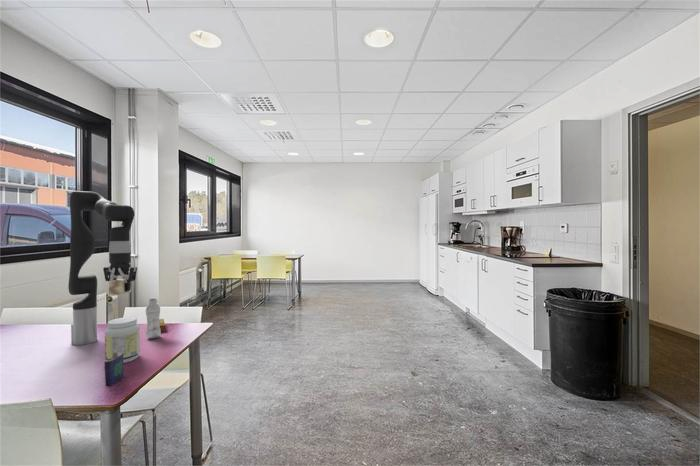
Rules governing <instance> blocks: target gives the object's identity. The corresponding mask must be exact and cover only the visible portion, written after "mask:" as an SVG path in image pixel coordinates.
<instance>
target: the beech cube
mask: <svg viewBox="0 0 700 466" xmlns="http://www.w3.org/2000/svg"><path fill="white" fill-rule="evenodd" d="M124 283H125V282H124V279H123V278H121V279H119V278H117V280H113V281H108V294H109V295H125V294H129V293H132V288H131V289H130V291H127V292H125V291H124Z"/></svg>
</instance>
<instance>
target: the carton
mask: <svg viewBox="0 0 700 466" xmlns="http://www.w3.org/2000/svg"><path fill="white" fill-rule="evenodd" d="M159 324H160V329H161V333H165V332H166V324H165V319H164V318H159Z"/></svg>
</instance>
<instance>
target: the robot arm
mask: <svg viewBox="0 0 700 466" xmlns="http://www.w3.org/2000/svg"><path fill="white" fill-rule="evenodd" d="M69 211H70V212H69V213H70V242H69V245H70V246H69V251H70V253H69V254H70V255H69V256H70V259H69V260H70V261H69V264H70V266H69V275H68V276H69V277H68V285H67V287H68V288H67V289H68V292H69V294H70V295H71V296H79V295H87V296H86V297H84V298H82V299H80V300H77V301H76V302H74V303H72V324H71V325H70V329H71V330H70V332H71V335H70V337H71V340H70V341H71V344H72V345H74V346H83V345H87V344H88V345H89V344H92V343H94V342H97V341H98V303H97V301H98V300H97V299H98V297H97V294H98V278H97V276H96V275H95V274H86V275H85V274H84V275H79V274H80V271H81V269H82V267H83V266H84V265H85V264H86V263H87V261H88V260H89V259H90V258H91V257H92V255H93V254H94V252H95V250H96V237H95V235H94V233H93V232H92V230H90V228H89V227H88V225H87V224H86V223H85V222H84V220H83V218H82V217H83V216H82V212H93V211H94V212H96V213H97V214H98V215H101V216H103V217H104V219H105V220H106V221H109V222H121V224H120V225H119V226H114V227H111V228H109V244H108V261H109V264H110V266H105V267H103V274H104V279H105V280H104V281H105V282H109V281H113V280H118V279H119V277H121V279H124V282H125V283H124V291H125V292H127V291H130V289H131V290H132V282H135V281H136V278H137V271H138V267H137V266H131V262H132V253H131V252H132V251H131V247H132V245H131V228H132V224H133V222H134V218H135V209H134V208H133V207H132V206H131V205H127V204H126V205H124V204H118V203H116V202H113V201H111V200H108V199H106V198H104V197H103V196H102V195H101V194H100V193H98V192H95V191H88V190H87V191H85V190H83V191H81V190H80V191H79V190H73V191H72V192H70V195H69Z"/></svg>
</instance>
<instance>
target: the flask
mask: <svg viewBox="0 0 700 466" xmlns="http://www.w3.org/2000/svg"><path fill="white" fill-rule="evenodd" d="M112 353H114V354H113V355H112V357H111V358H110V359H109V358H108V360H106V361H105V360H104V379H105V382H104V383H105V386H110V387H112V386H111V385H113V384H114V385H116V384H117V383H118V382H119V381H121V380H122V379H123V378H124V375H125V372H124V363H123V353H119V352H112ZM116 382H117V383H116ZM115 383H116V384H115ZM114 385H113V386H114Z"/></svg>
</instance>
